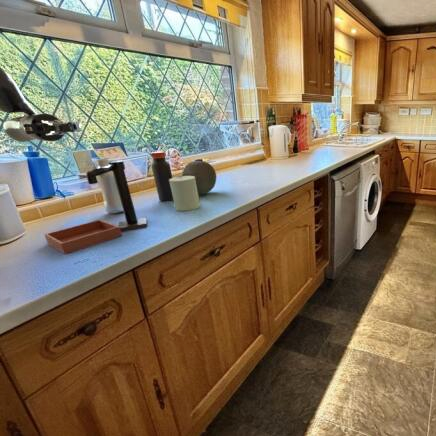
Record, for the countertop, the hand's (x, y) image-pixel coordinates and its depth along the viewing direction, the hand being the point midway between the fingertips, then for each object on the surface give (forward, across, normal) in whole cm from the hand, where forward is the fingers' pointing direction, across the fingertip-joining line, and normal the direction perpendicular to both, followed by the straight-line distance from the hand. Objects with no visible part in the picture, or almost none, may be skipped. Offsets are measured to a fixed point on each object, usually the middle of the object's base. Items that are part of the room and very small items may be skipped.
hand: (65, 127), depth 78 cm
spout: (0, +6, +14) cm, 16 cm away
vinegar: (-25, +35, +32) cm, 54 cm away
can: (-6, +32, +32) cm, 46 cm away
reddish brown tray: (-4, -2, +32) cm, 32 cm away
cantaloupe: (-18, +47, +32) cm, 60 cm away
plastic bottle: (-25, +15, +32) cm, 43 cm away
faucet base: (-4, +11, +32) cm, 34 cm away
